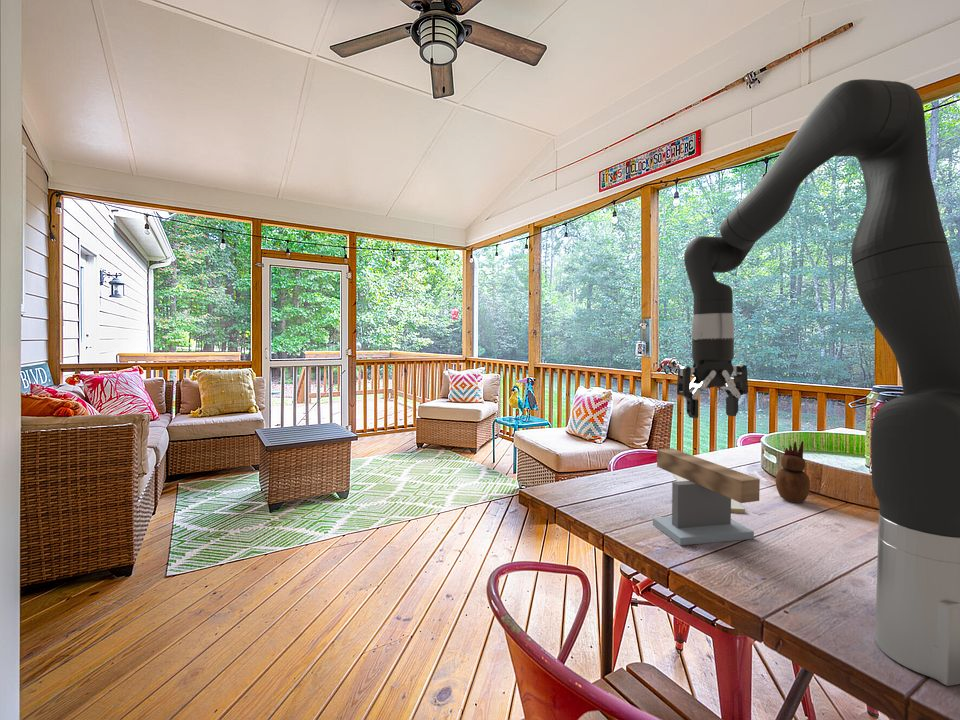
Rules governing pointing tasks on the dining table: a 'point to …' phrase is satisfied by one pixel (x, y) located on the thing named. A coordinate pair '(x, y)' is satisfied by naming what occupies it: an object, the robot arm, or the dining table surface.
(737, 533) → the fulcrum board
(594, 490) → the dining table surface
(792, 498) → the wooden figurine
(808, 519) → the dining table surface
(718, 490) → the walnut bar
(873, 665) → the dining table surface
